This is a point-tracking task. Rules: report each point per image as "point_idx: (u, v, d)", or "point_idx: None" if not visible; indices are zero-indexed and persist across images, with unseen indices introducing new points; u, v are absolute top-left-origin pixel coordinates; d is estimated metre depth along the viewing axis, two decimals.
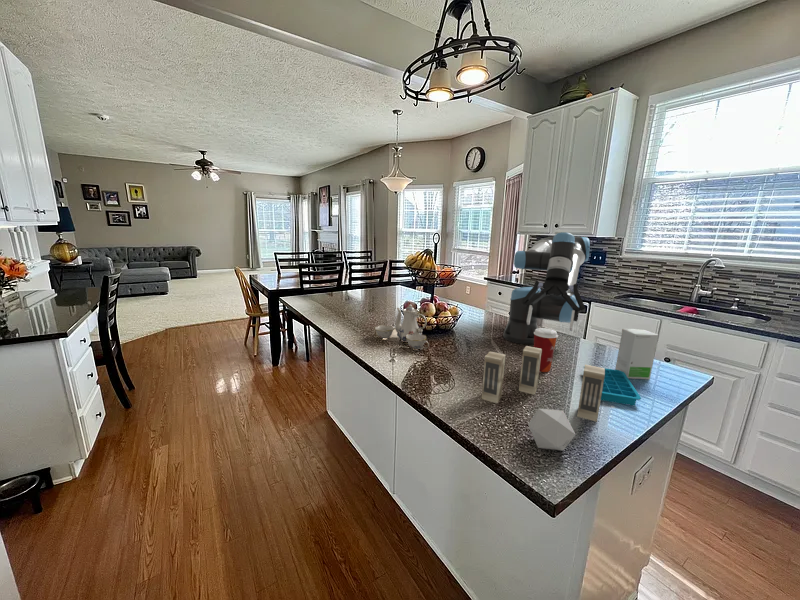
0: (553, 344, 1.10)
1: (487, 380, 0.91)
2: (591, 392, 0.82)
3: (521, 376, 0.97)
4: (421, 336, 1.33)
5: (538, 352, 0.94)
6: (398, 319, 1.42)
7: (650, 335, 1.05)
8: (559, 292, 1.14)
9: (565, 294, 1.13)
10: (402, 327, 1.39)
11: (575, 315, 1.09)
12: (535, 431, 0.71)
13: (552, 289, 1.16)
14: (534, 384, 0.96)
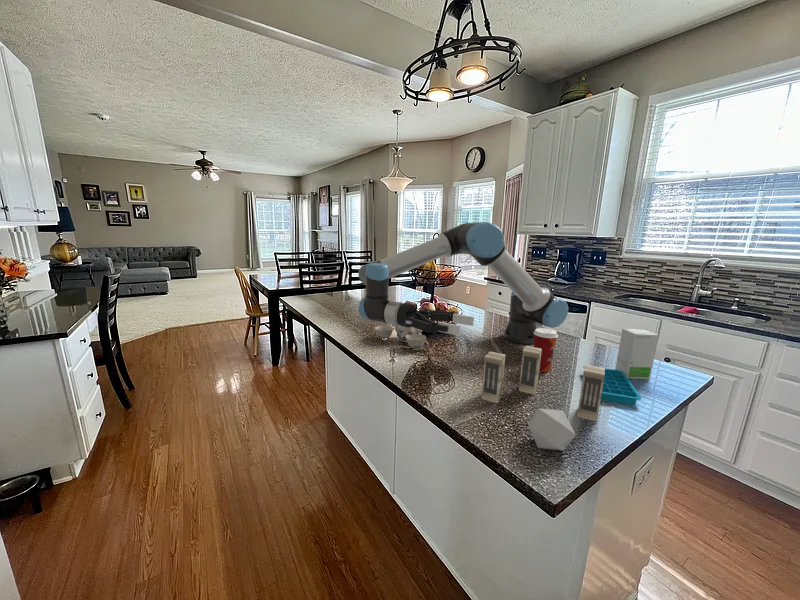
0: (553, 344, 1.10)
1: (487, 380, 0.91)
2: (591, 392, 0.82)
3: (521, 376, 0.97)
4: (421, 336, 1.33)
5: (538, 352, 0.94)
6: None
7: (650, 335, 1.05)
8: None
9: None
10: (402, 327, 1.39)
11: None
12: (535, 431, 0.71)
13: None
14: (534, 384, 0.96)
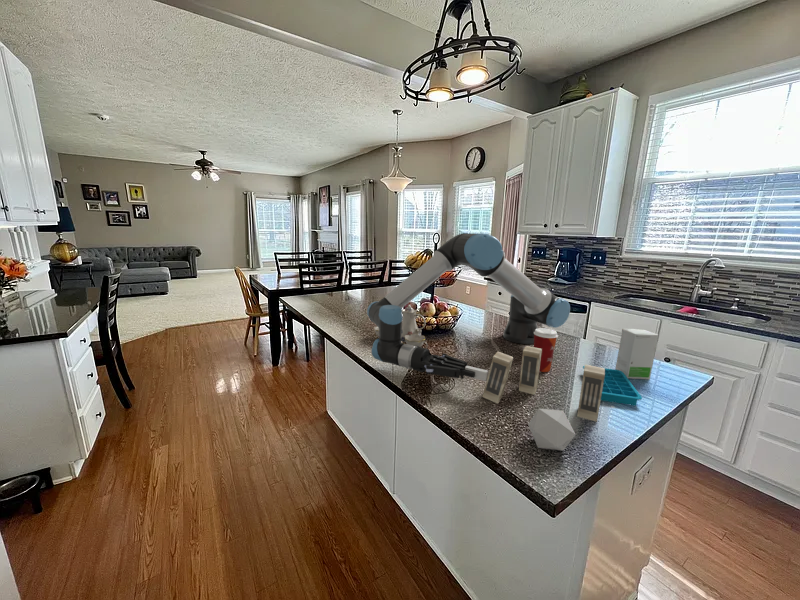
0: (553, 344, 1.10)
1: (491, 380, 0.90)
2: (591, 392, 0.82)
3: (521, 376, 0.97)
4: (420, 337, 1.32)
5: (538, 352, 0.94)
6: None
7: (650, 335, 1.05)
8: None
9: None
10: None
11: None
12: (535, 431, 0.71)
13: None
14: (534, 384, 0.96)
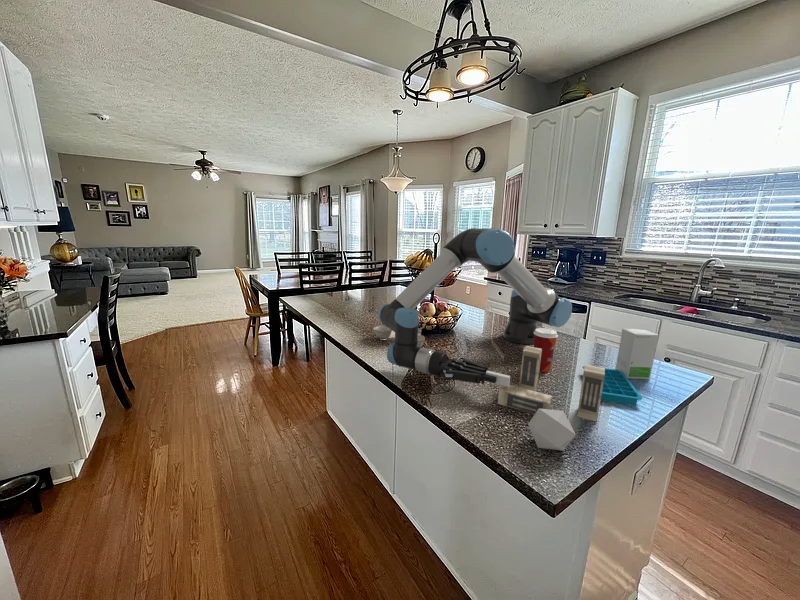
0: (553, 344, 1.10)
1: (521, 400, 0.87)
2: (591, 392, 0.82)
3: (521, 376, 0.97)
4: (420, 337, 1.32)
5: (538, 352, 0.94)
6: None
7: (650, 335, 1.05)
8: None
9: None
10: None
11: None
12: (535, 431, 0.71)
13: None
14: (534, 384, 0.96)
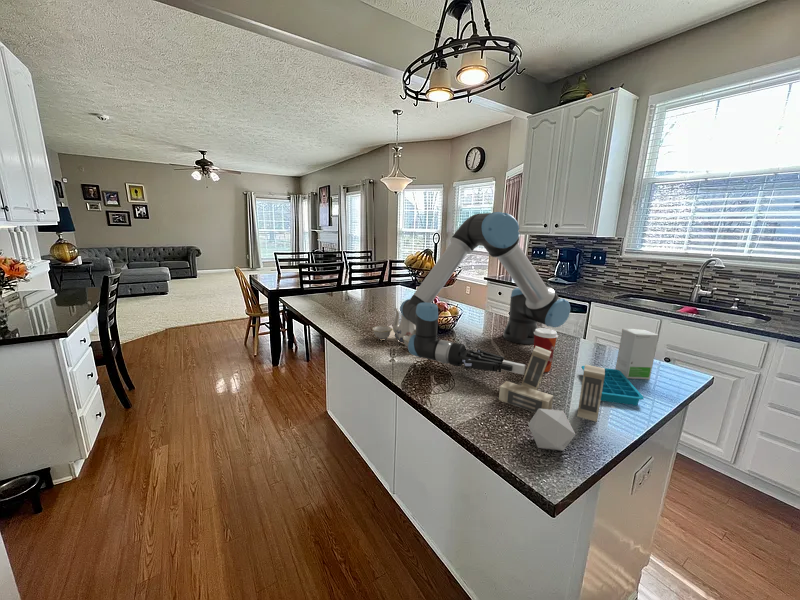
0: (553, 344, 1.10)
1: (521, 398, 0.88)
2: (591, 392, 0.82)
3: (526, 374, 0.96)
4: None
5: (548, 355, 0.93)
6: (396, 320, 1.41)
7: (650, 335, 1.05)
8: None
9: None
10: (400, 328, 1.38)
11: None
12: (535, 431, 0.71)
13: None
14: (537, 385, 0.95)
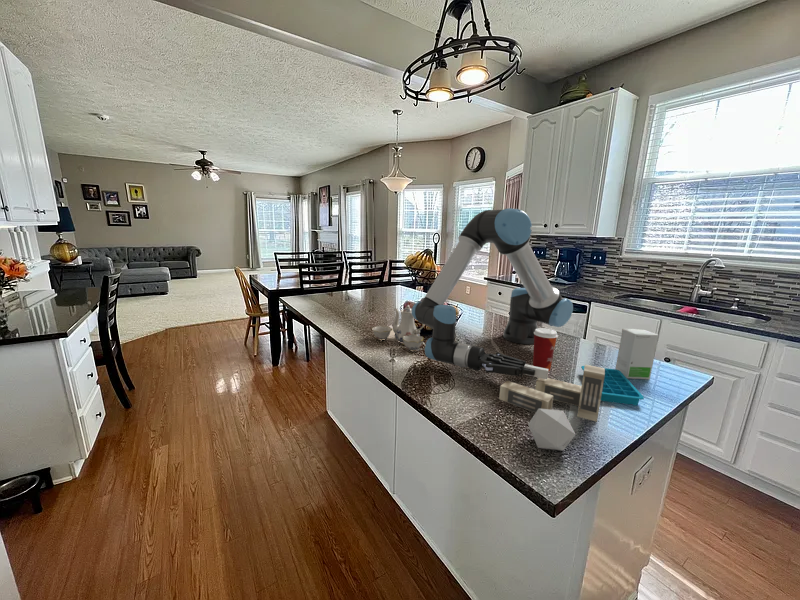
0: (553, 344, 1.10)
1: (521, 397, 0.89)
2: (591, 392, 0.82)
3: (554, 387, 0.93)
4: (418, 337, 1.32)
5: None
6: (396, 320, 1.41)
7: (650, 335, 1.05)
8: None
9: None
10: (399, 328, 1.37)
11: None
12: (535, 431, 0.71)
13: None
14: None
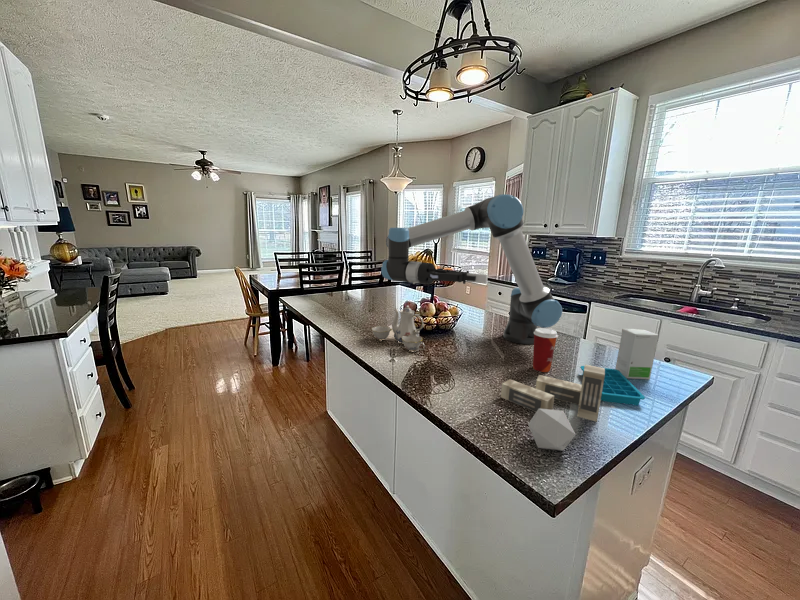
0: (553, 344, 1.10)
1: (521, 396, 0.89)
2: (591, 392, 0.82)
3: (554, 386, 0.94)
4: (417, 337, 1.31)
5: None
6: (395, 320, 1.41)
7: (650, 335, 1.05)
8: None
9: None
10: (399, 328, 1.37)
11: None
12: (535, 431, 0.71)
13: None
14: None
